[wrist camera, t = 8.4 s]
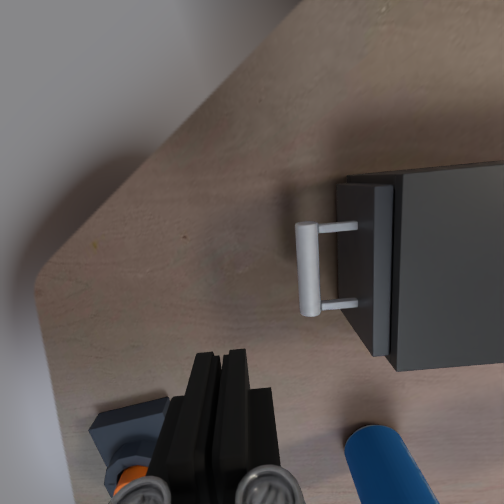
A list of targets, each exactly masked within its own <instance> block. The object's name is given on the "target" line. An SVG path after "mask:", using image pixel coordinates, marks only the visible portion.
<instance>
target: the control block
mask: <svg viewBox="0 0 504 504" xmlns="http://www.w3.org/2000/svg"><path fill="white" fill-rule="evenodd" d="M169 404H170V400H169V398H168V397H166V398H161V399H157V400H153V401H149V402H145V403H141V404H137V405H132V406H128V407H124V408H120V409H116V410H112V411H108V412H103V413H99V414H98V416H97V417H96V419H95V421H94V422H93V424H92V425H91V427H90V428H89V430H88V431H89V433H90V435H91V437H92V439H93V441H94V443H95V445H96V447H97V448H98V450H99V452H100V454H101V456H102V458H103V460H104V462H105V464H106V466H107V470H106V475H105V481H104V485H105V487H106V489H107V491H108V493H109V495H110V497H111V498H112V497H113V495H114V491H115V489H116V486H117V484H118V482H119V479H120V477H121V475H122V473H123V471H124V470H125V469H127V468H128V467H131V466H136V465H139V466H145V467H149V464H150V461H151V458H152V455H153V452H154V449H155V446H156V443H157V440H158V437H159V434H160V431H161V428H162V425H163V422H164V419H165V416H166V413H167V410H168V407H169Z"/></svg>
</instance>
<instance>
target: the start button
mask: <svg viewBox="0 0 504 504" xmlns="http://www.w3.org/2000/svg"><path fill="white" fill-rule="evenodd" d="M147 470H148V467H145V466H139V465H136V466H131V467H128V468H127V469H125V470H124V471H123V473H122V475H121V477H120V479H119V482H118V484H117V486H116V489H115V491H114V495H115V494H116V493H117V492H118V491H119V490H120V489H121V488H122V487H123V486H125V485H126V484H128V483H129V482H131V481H132V480H135V479H138V478H140V477H143V476H145V475H146V473H147ZM114 495H113V496H114Z"/></svg>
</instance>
